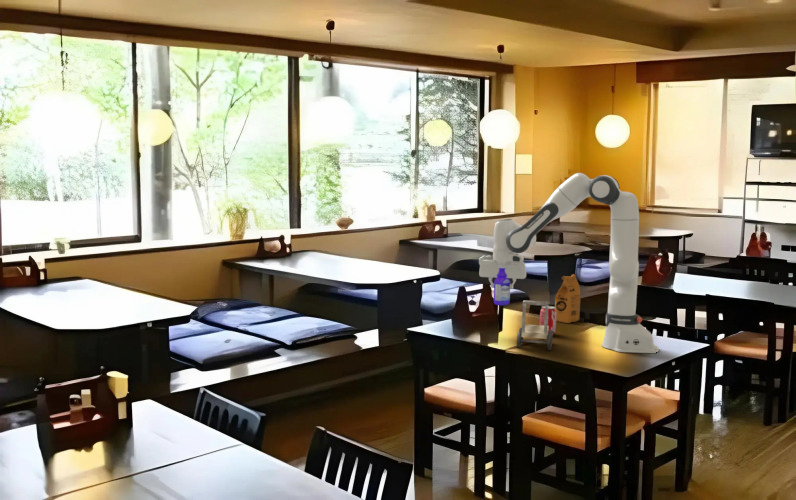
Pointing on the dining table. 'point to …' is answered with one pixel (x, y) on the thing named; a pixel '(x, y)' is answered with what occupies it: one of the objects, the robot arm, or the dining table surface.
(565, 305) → the coffee package
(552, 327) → the soda can
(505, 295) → the bottle
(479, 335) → the dining table surface
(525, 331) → the trolley
